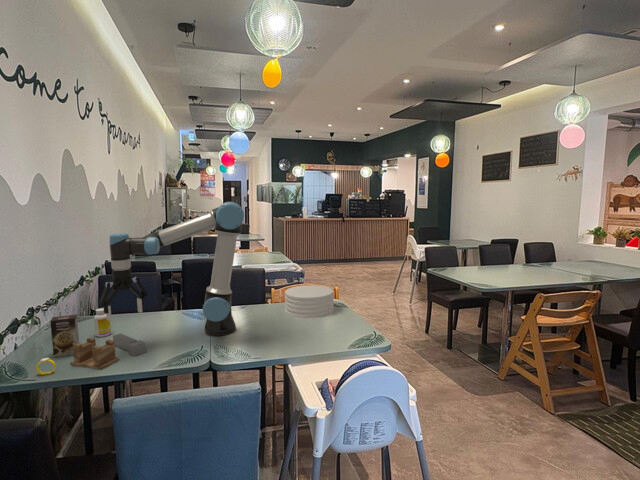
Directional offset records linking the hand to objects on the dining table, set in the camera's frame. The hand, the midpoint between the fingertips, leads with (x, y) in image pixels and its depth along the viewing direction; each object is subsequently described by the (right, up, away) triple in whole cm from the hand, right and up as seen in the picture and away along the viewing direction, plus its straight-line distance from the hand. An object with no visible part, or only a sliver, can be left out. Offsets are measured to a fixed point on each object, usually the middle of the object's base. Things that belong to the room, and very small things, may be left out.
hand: (125, 316), depth 172 cm
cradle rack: (-6, -16, -12) cm, 21 cm away
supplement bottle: (-20, -13, +19) cm, 31 cm away
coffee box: (-24, -16, -3) cm, 29 cm away
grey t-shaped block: (+1, -15, +1) cm, 15 cm away
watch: (-19, -18, -22) cm, 34 cm away
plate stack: (+80, -7, +54) cm, 97 cm away
